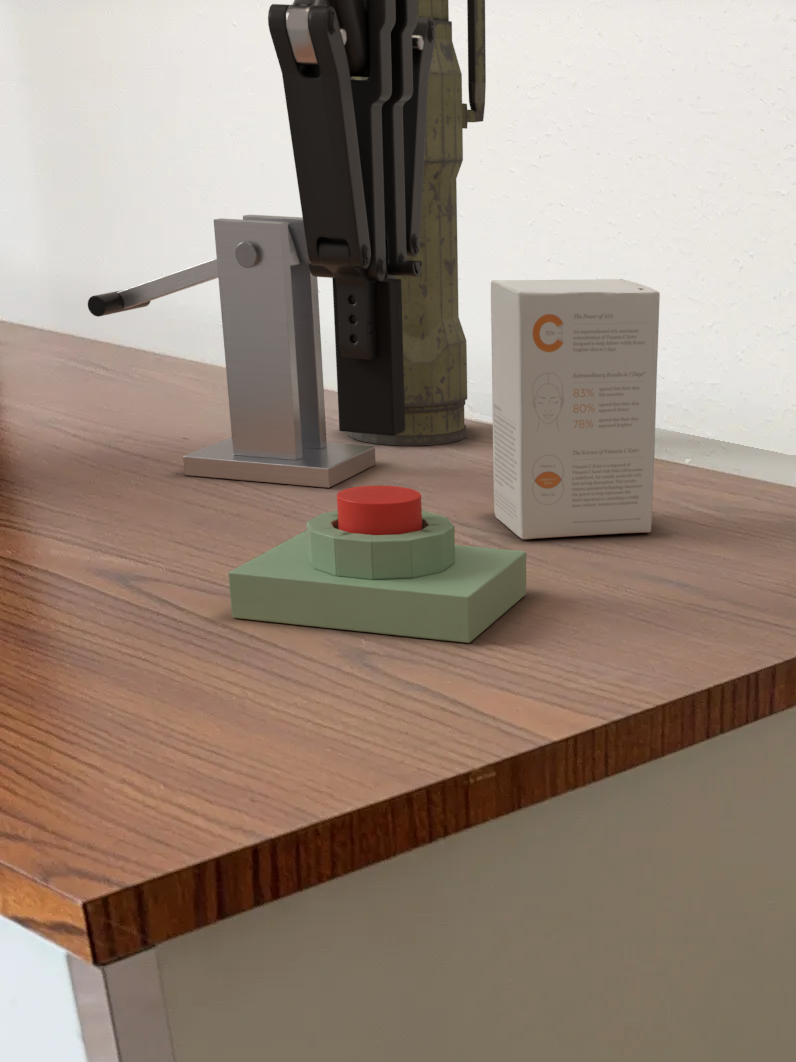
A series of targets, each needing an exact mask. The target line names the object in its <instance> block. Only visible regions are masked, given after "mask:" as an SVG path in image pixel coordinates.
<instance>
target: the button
mask: <svg viewBox="0 0 796 1062" xmlns="http://www.w3.org/2000/svg"><path fill="white" fill-rule="evenodd" d="M336 505H337V506H336V507H337V511H338V527H339V530H342V531H346V532H349V533H357V534H368V535H397V534H404V533H409V532H415V531H420V530H422V511H423V508H422V506H423V505H422V494H421V492H419V491H418V490H416V489H412V488H409V487H403V486H397V485H361V486H354V487H349V488H344V489H342V490H340V491H338V492H337V494H336Z"/></svg>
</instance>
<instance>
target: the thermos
mask: <svg viewBox="0 0 796 1062" xmlns="http://www.w3.org/2000/svg"><path fill="white" fill-rule="evenodd" d="M466 3H467V4H466V6H467V7H466V8H467V9H466V11H467V12H466V13H467V15H466V17H467V84H468V86H467V87H468V88H467V89H468V103H469V108H470V109H468V103H463V74H462V70H461V66H460V63H459V60H458V57H457V53H456V49H455V46H454V42H453V21H452V20H450V16H449V14H450V13H449V0H417V17H422V18H432V19H433V21H434V24H435V30H436V38H435V45H434V51H433V56H432V62H431V67H430V73H429V80H428V98H427V117H426V135H425V154H424V173H423V191H422V210H421V228H420V247H419V253H418V255H417V256H416V257H411V256H407V260H410V261H422V270H421V273H420V276H419V277H409V276H397V279H401V290H402V328H403V366H404V404H405V431H403V432H401V433H399V434H397V435H395V436H388V435H377V434H366V433H356V432H347V433H346V434H347V436H348V437H350V439H353V440H356V441H359V442H362V443H363V442H364V443H370V444H375V445H387V446H410V447H413V446H415V447H417V446H435V445H443V444H450V443H454V442H455V443H456V442H459V441H461V440H463V439H465V438H466V435H467V431H466V428H467V427H466V426H467V425H466V424H465V405H466V401H467V400H468V350H467V348H468V347H467V346H468V345H467V338H466V335H465V332H464V329H463V326H462V323H461V321H460V317H459V315H460V314H459V263H458V261H459V259H458V258H459V257H458V256H459V255H458V253H459V252H458V200H457V198H458V196H457V195H458V194H457V190H458V189H457V178H458V175H459V172H460V170H461V167H462V164H463V161H464V146H463V145H464V144H463V143H464V142H463V141H464V137H463V135H464V134H463V129H465V130H466V129H468V123H480V122H484V119H485V117H484V116H485V108H486V89H487V88H486V86H487V85H486V83H487V82H486V81H487V79H486V78H487V77H486V76H487V75H486V74H487V73H486V72H487V70H486V69H487V68H486V64H487V63H486V59H487V57H486V0H466ZM353 79H356V80H367V79H368V77H353Z"/></svg>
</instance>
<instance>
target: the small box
mask: <svg viewBox="0 0 796 1062" xmlns="http://www.w3.org/2000/svg"><path fill="white" fill-rule="evenodd" d="M660 295H661V294H660V292H659V291H658V290H657V289H654V288H653V287H649V286H647V285H643V284H641V283H638V282H634V281H631V280H627V279H623V278H617V279H616V278H615V279H613V278H612V279H610V278H606V279H605V278H603V279H602V278H601V279H599V278H598V279H597V278H596V279H494V280H493V279H492V280H491V281H490V317H491V318H490V327H491V328H490V329H491V330H490V331H491V333H490V334H491V339H490V340H491V403H492V404H491V405H492V408H491V409H492V410H491V411H492V463H493V466H492V467H493V513H494V516H495V518H496V519H498V520H499V521H500V522H501V523H502V524H503V525H504V526H506V527H507V528H508V529H509V530H510V531H512V532H513V533H514V534H515V535H516V536H517V537H519V538H520V539H521V540H533V539H550V538H565V537H580V536H581V537H582V536H598V535H618V534H619V535H620V534H639V533H641V534H642V533H651V532H652V521H653V494H654V492H653V491H654V476H655V475H654V472H655V447H656V444H655V443H656V414H657V413H656V411H657V385H658V384H657V378H658V355H659V354H658V352H659V351H658V350H659V327H660V325H659V324H660V297H661V296H660Z"/></svg>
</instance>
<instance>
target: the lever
mask: <svg viewBox="0 0 796 1062" xmlns="http://www.w3.org/2000/svg"><path fill="white" fill-rule="evenodd" d="M288 239H289V255H290V267H293V266H296V265H299V264H300V262H299V259H298V256H297V253H296V250H295V247H294V244H293V241H292V238H291V235H290V232H289V229H288ZM216 279H218V267H217V257H216V258H214V259H210V260H207V261H204V262H201V263H199V264H195V265H193V266H190V267H187V268H184V269H181V270H178V271H176V272H175V271H174V272H173V273H169V274H166V275H164V276H160V277H158V278H155V279H152V280H149V281H146V282H143V283H140V284H137V285H134V286H131V287H128V288H125V289H121V290H116V291H110V292H106V293H101V294H100V293H99V294H95V295H92V296H90V297H89V298H88V300H87V307H88V311H89V312H90V314H91V315H93V316H95V317H99V318H100V317H104V316H108V315H112V314H118V313H123V312H126V311H131V310H135V309H136V310H137V309H141V308H145V307H148V306H149V305H150V304H151V301H155V300H156V299H160V298H163V297H165V296H168V295H169V296H170V295H172V294H174V293H177V292H181V291H183V290H187V289H189V288H192V287H195V286H199V285H202V284H204V283H208V282H211V281H213V280H216Z"/></svg>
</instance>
